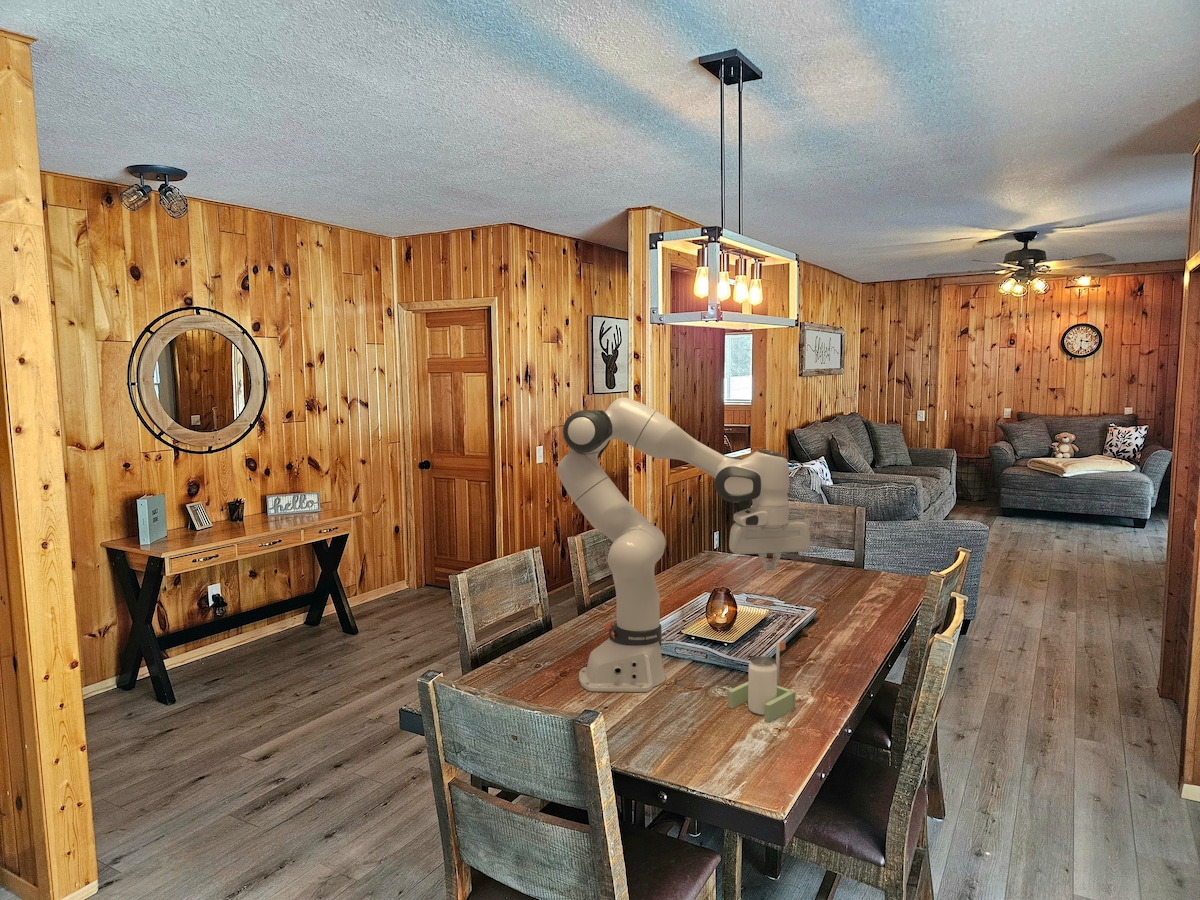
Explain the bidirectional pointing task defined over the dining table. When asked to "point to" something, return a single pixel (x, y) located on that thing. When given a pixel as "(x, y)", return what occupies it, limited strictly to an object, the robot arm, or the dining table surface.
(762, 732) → the dining table surface
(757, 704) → the can
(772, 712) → the olive frame
